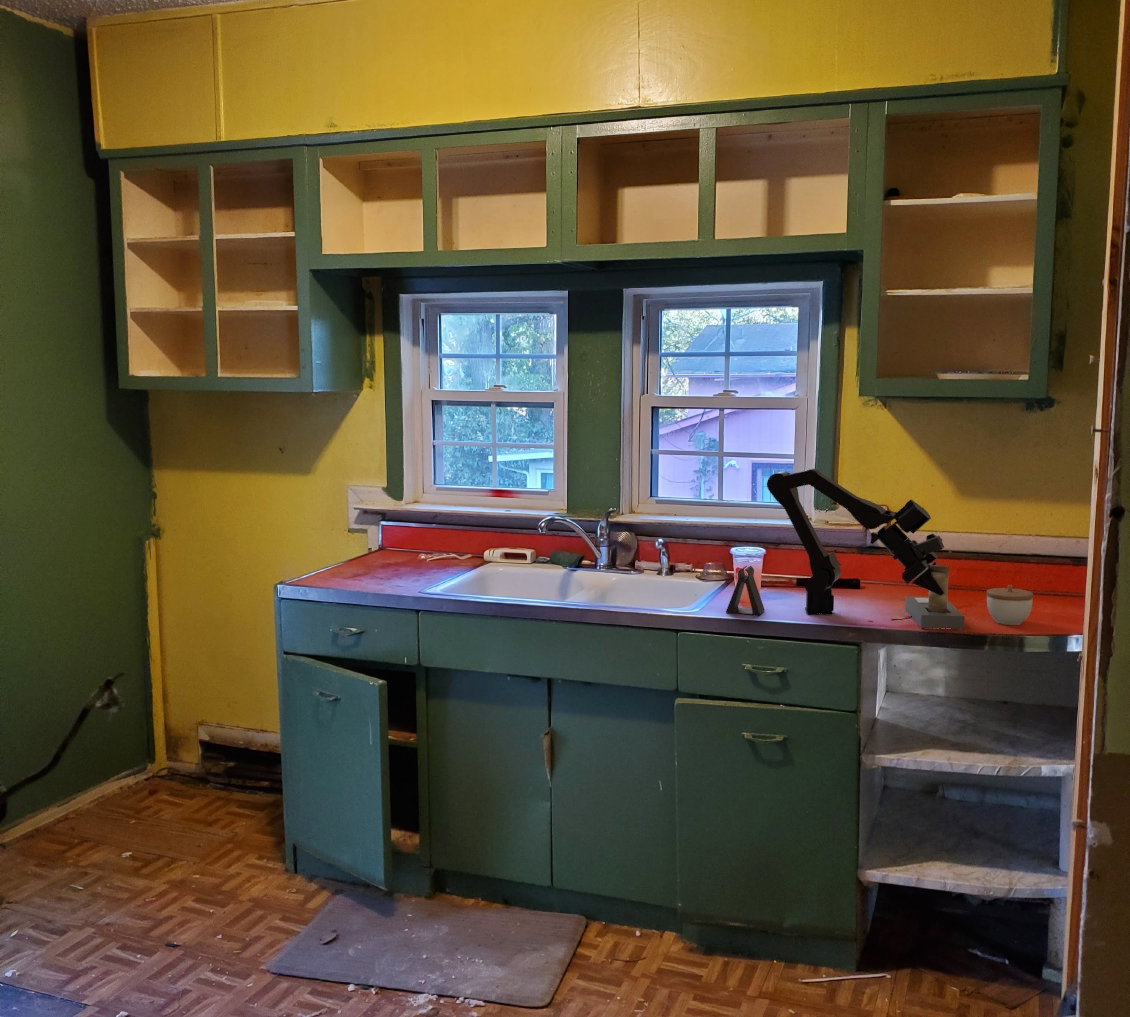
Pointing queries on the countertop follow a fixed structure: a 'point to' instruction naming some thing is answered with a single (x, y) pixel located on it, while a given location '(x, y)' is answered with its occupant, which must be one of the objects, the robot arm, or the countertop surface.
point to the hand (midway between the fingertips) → (944, 592)
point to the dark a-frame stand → (752, 592)
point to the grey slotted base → (933, 614)
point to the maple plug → (940, 601)
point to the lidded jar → (1009, 605)
